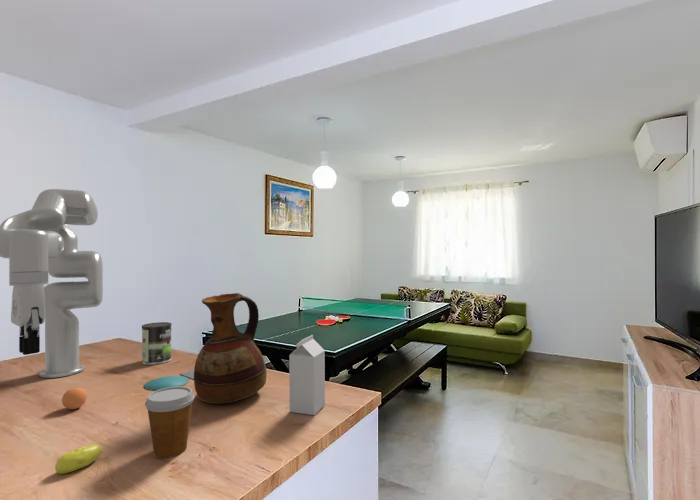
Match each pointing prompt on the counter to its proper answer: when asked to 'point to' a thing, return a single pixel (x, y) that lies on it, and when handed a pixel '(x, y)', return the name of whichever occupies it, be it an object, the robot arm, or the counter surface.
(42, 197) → the robot arm
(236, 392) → the ceramic pitcher
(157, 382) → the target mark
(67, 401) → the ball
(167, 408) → the disposable coffee cup
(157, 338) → the coffee can
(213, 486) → the counter surface
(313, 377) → the milk carton
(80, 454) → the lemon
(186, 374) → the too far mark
